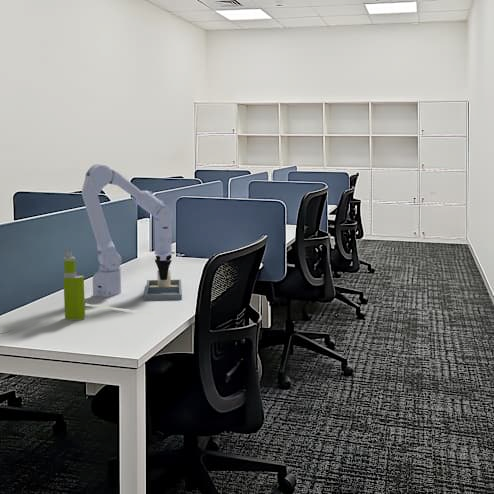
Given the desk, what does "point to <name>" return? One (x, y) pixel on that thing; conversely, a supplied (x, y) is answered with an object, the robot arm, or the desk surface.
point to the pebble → (164, 282)
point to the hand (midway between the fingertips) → (163, 277)
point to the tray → (163, 291)
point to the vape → (73, 290)
